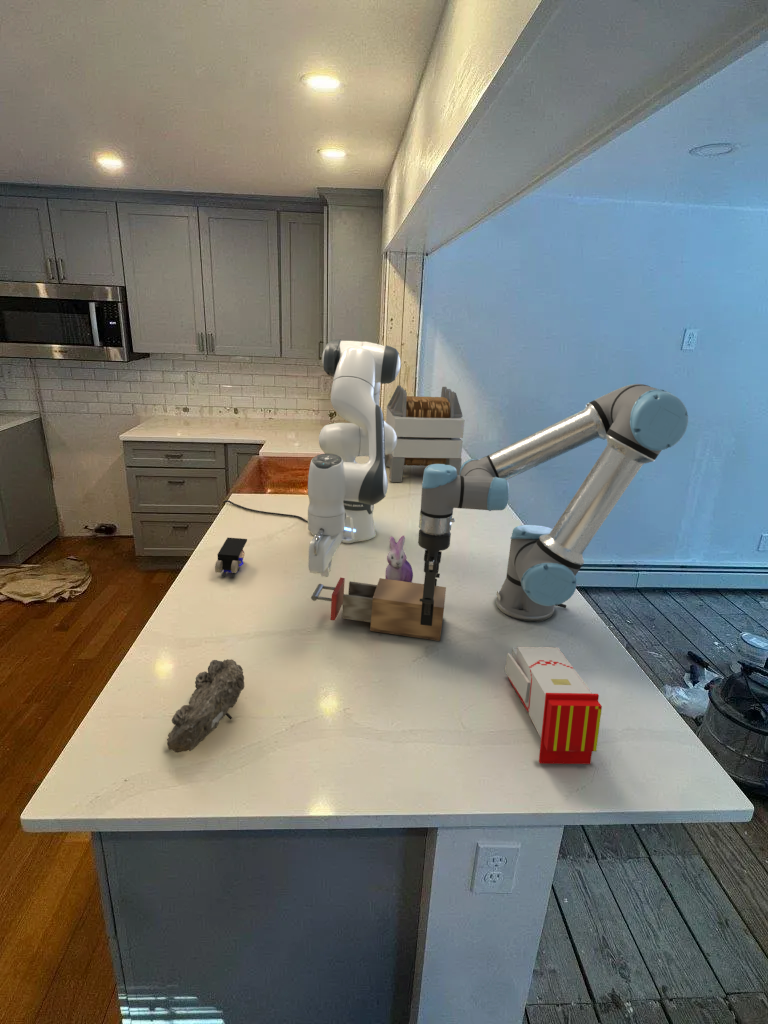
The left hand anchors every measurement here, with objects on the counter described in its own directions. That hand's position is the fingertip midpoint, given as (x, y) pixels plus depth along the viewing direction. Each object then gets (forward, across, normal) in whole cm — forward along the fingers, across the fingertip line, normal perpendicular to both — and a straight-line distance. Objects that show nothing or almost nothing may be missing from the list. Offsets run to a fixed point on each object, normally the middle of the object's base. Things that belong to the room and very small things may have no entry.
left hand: (325, 574), depth 141 cm
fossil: (+12, -41, +12) cm, 44 cm away
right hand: (+8, 0, -26) cm, 27 cm away
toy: (+12, -27, -51) cm, 59 cm away
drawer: (+10, 0, -8) cm, 13 cm away
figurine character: (+12, +20, +33) cm, 40 cm away
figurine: (+12, +21, -16) cm, 29 cm away
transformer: (+12, +141, -12) cm, 142 cm away
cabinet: (+12, 0, -21) cm, 24 cm away
